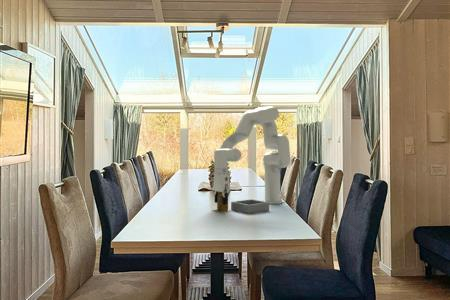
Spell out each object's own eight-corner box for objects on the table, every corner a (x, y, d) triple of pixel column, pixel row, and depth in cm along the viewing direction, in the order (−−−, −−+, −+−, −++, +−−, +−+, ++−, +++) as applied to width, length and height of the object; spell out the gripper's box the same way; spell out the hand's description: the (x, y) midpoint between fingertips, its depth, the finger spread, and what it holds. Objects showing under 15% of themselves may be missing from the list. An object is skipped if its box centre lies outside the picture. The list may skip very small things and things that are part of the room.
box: (251, 206, 237) (251, 199, 236) (269, 210, 224) (269, 202, 224) (231, 209, 228) (231, 201, 228) (248, 213, 216) (247, 205, 215)
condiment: (231, 211, 224) (231, 189, 223) (218, 212, 219) (218, 190, 219) (223, 209, 230) (223, 188, 229) (211, 210, 225) (211, 189, 225)
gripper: (236, 172, 219) (236, 204, 219) (217, 170, 233) (217, 200, 233) (224, 172, 214) (224, 206, 215) (206, 170, 228) (206, 202, 229)
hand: (221, 203), depth 224 cm, fingers open, 6 cm apart
